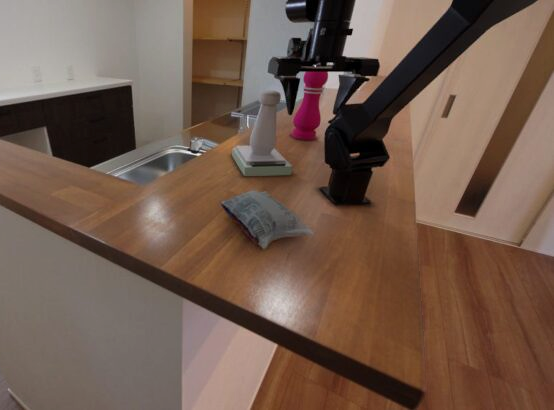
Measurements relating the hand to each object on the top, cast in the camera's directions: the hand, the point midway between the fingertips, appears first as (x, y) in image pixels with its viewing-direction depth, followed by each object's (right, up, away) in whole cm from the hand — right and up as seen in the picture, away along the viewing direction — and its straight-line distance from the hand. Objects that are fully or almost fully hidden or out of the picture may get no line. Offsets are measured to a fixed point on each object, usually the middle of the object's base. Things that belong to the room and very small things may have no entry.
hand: (312, 114), depth 59 cm
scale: (-8, -9, +9) cm, 15 cm away
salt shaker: (-8, -6, +8) cm, 13 cm away
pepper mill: (+9, +2, +28) cm, 29 cm away
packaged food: (-13, -21, -13) cm, 28 cm away
